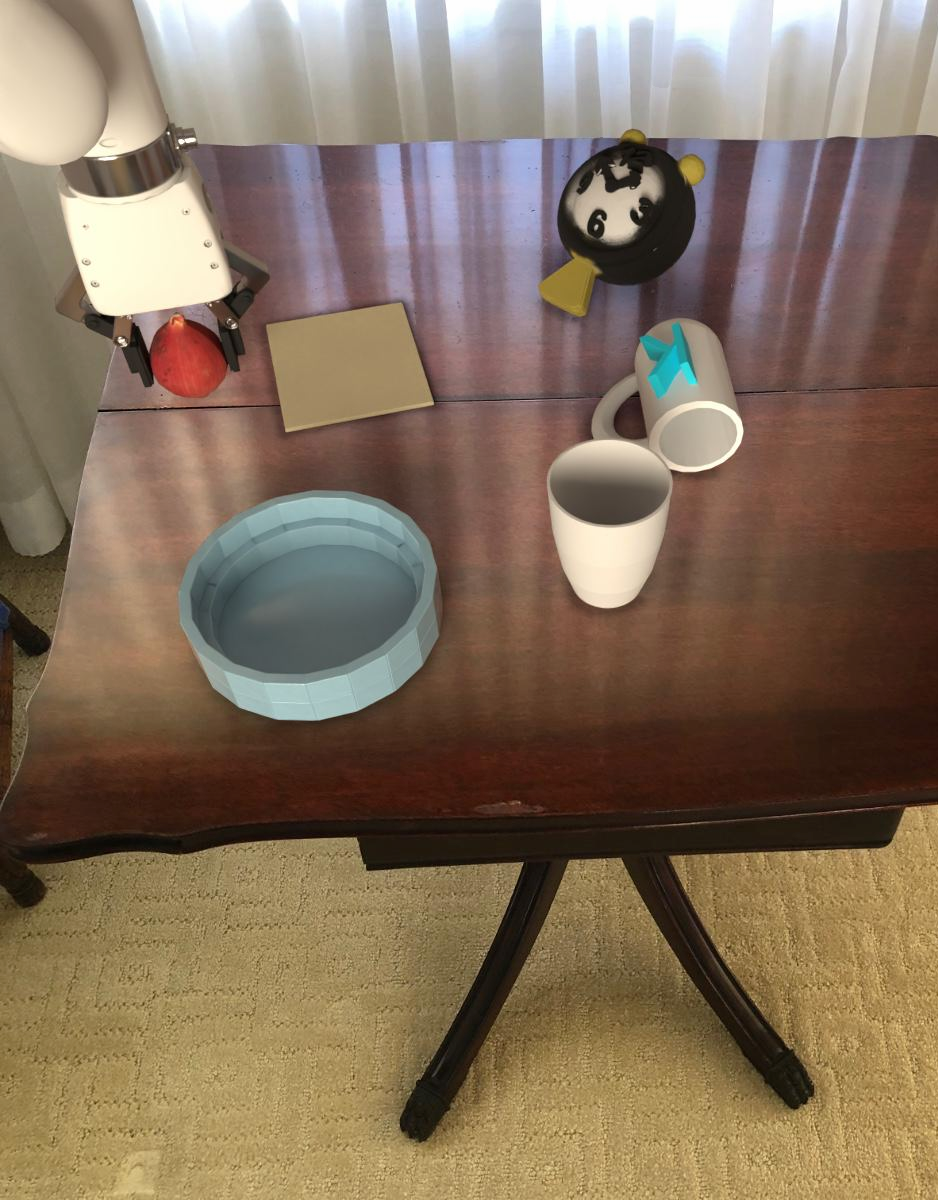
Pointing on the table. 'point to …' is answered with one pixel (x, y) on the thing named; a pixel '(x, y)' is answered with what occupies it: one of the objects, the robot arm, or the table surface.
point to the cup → (608, 516)
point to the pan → (312, 604)
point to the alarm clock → (623, 219)
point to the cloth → (346, 366)
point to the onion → (187, 358)
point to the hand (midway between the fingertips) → (191, 367)
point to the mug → (679, 397)
